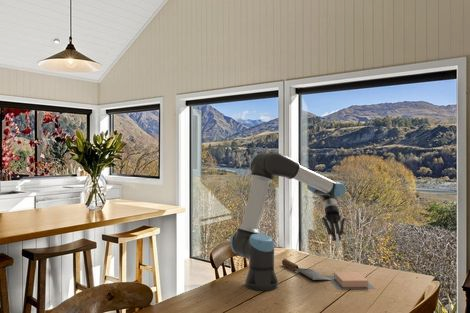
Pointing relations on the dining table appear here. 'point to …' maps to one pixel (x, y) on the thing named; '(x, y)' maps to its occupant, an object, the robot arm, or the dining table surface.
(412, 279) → the dining table surface
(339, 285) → the mat
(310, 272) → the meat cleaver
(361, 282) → the tile
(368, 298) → the dining table surface
